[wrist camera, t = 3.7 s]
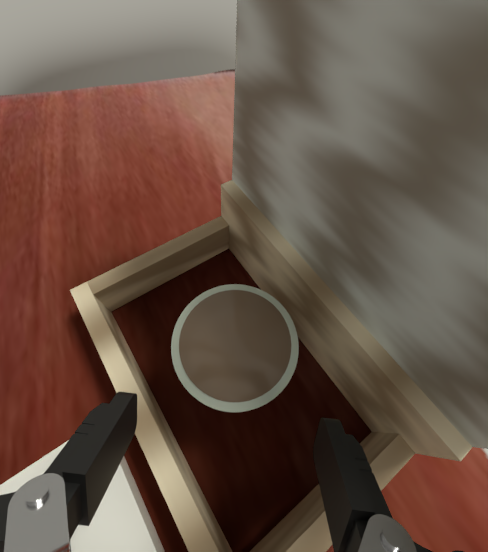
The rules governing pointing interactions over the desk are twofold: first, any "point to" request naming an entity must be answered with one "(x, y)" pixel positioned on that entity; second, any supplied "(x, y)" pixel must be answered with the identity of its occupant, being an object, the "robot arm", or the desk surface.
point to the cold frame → (344, 233)
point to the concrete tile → (105, 513)
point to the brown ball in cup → (234, 348)
